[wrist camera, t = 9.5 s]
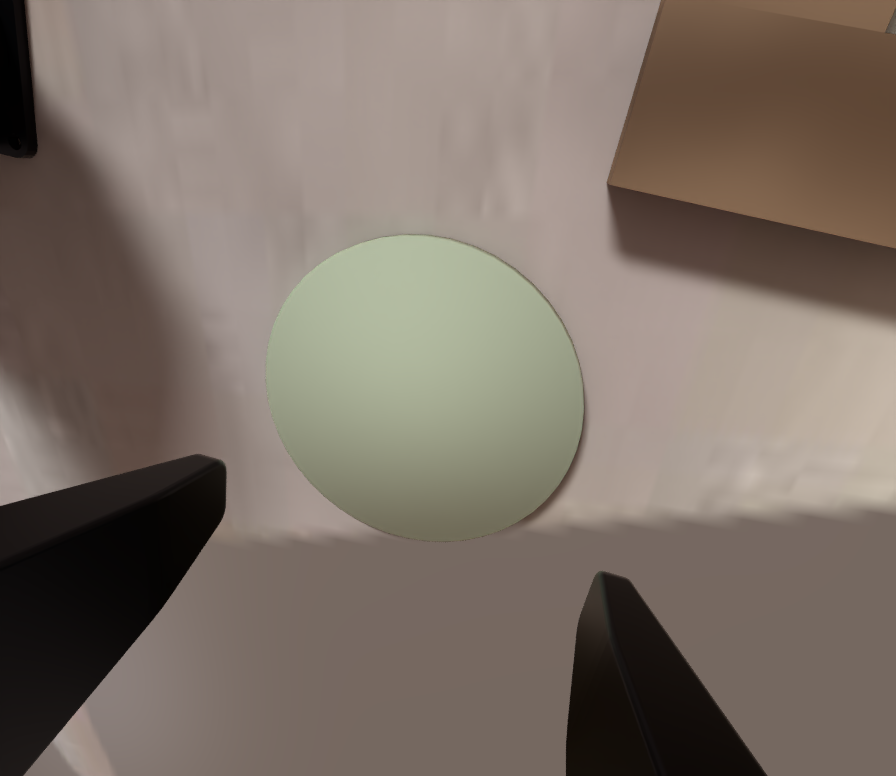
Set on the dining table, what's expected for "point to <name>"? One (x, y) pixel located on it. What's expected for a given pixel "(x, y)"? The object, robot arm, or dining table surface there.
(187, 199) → the dining table surface
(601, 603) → the robot arm
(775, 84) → the frame
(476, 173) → the dining table surface
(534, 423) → the felt coaster
